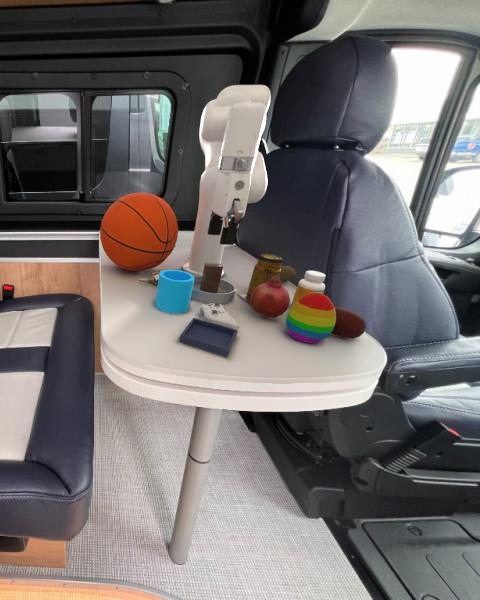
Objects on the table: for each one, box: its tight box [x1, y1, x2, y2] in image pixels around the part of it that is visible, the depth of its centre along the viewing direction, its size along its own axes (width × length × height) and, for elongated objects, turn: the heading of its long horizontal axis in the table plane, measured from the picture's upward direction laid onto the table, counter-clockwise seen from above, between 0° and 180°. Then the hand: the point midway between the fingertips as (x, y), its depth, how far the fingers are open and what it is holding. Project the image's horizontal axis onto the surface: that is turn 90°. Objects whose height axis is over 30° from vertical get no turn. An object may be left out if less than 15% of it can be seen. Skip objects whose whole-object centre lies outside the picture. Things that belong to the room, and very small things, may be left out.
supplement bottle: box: [290, 270, 326, 308], centre depth 78 cm, size 5×5×10 cm
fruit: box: [249, 277, 291, 319], centre depth 74 cm, size 8×8×10 cm
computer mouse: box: [138, 270, 162, 287], centre depth 92 cm, size 7×15×4 cm, turn 88°
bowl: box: [191, 276, 237, 305], centre depth 87 cm, size 13×13×3 cm
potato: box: [330, 305, 367, 340], centre depth 68 cm, size 8×9×6 cm
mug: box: [154, 269, 195, 315], centre depth 80 cm, size 12×8×8 cm
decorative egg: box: [285, 293, 336, 344], centre depth 66 cm, size 8×8×10 cm
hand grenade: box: [279, 265, 296, 284], centre depth 97 cm, size 5×6×10 cm
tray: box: [178, 317, 239, 358], centre depth 66 cm, size 9×9×2 cm
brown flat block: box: [200, 263, 227, 294], centre depth 85 cm, size 2×7×8 cm, turn 86°
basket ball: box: [99, 191, 179, 272], centre depth 100 cm, size 24×24×24 cm
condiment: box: [238, 253, 284, 304], centre depth 82 cm, size 7×8×12 cm
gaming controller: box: [198, 303, 240, 331], centre depth 72 cm, size 10×4×7 cm
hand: (219, 239), depth 81 cm, fingers open, 9 cm apart
